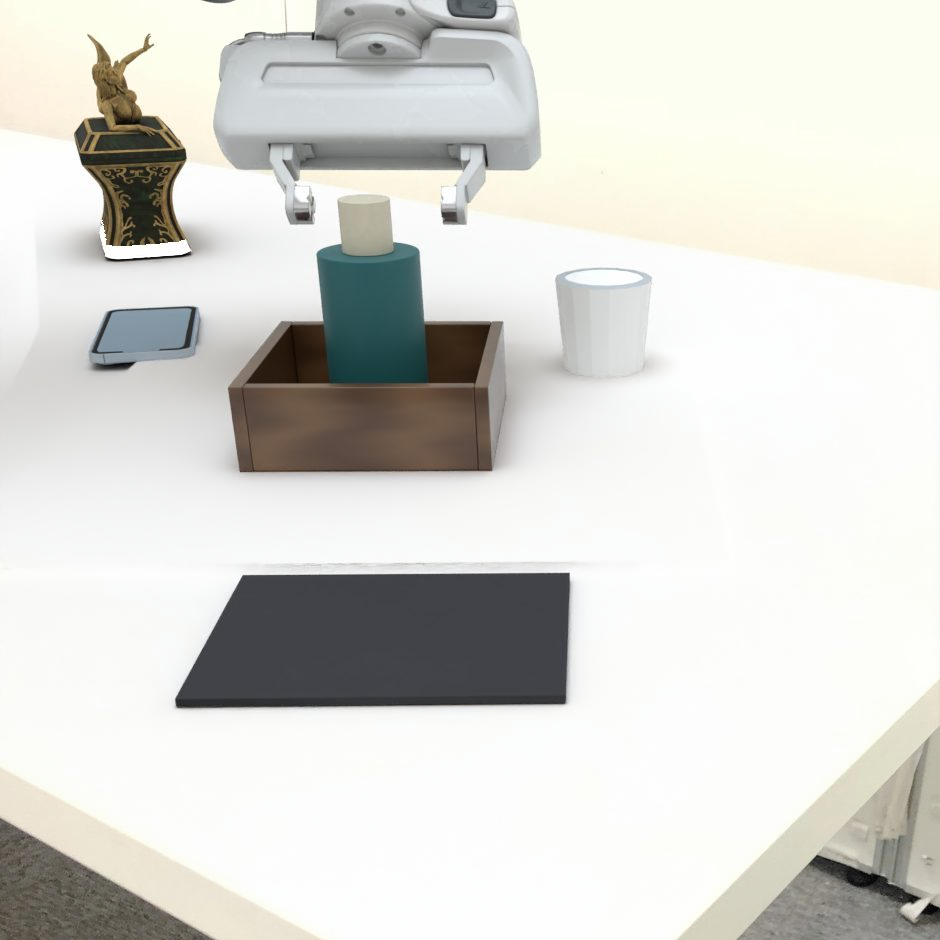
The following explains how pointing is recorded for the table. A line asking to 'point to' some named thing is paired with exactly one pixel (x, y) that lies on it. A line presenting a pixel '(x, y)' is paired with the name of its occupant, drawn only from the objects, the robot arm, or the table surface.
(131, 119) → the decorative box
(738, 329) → the table surface
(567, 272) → the white cup
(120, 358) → the smartphone
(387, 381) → the bottle
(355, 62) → the robot arm
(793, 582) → the table surface
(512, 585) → the mat
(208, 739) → the table surface
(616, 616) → the table surface
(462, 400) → the wooden box
